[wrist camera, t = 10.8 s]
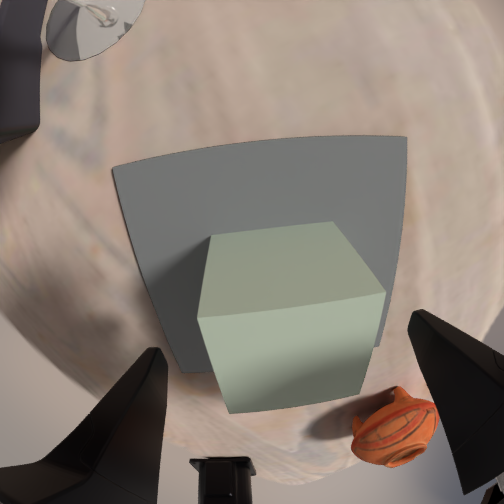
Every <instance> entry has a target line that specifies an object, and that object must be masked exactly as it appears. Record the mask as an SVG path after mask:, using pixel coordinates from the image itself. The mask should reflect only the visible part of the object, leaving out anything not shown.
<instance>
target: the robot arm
mask: <svg viewBox="0 0 504 504" xmlns="http://www.w3.org/2000/svg"><path fill="white" fill-rule="evenodd" d="M408 335H409V338H410V341H411V343H412V346H413V349H414V352H415V355H416V358H417V362H418V364H419V367H420V369H421V372H422V374H423V377H424V379H425V381H426V384H427V386H428V388H429V391H430V393H431V396H432V398H433V401H434V403H435V406H436V408H437V411H438V414H439V416H440V419H441V422H442V424H443V427H444V430H445V433H446V436H447V439H448V442H449V445H450V448H451V451H452V455H453V458H454V462H455V465H456V468H457V472H458V475H459V479H460V483H461V487H462V491H463V494H464V495H466V494H468V493H470V492H472V491H474V490H475V489H477V488H479V487H481V486H482V485H484V484H486V483H488V482H489V481H491V480H492V479H494V478H496V480H497V482H496V483H495V484H494V485H492V486H491V487H490V488H488V489H487V490H486V492H485V495H484V497H483V500H482V502H481V504H504V355H502V354H500V353H499V352H497V351H495V350H493V349H492V348H490V347H489V346H487V345H485V344H483V343H482V342H480V341H478V340H477V339H475V338H473V337H471V336H470V335H468V334H466V333H465V332H463V331H461V330H459V329H458V328H456V327H454V326H452V325H451V324H449V323H447V322H445V321H444V320H442V319H440V318H438V317H436V316H435V315H433V314H431V313H429V312H427V311H426V310H424V309H420V310H416V311H413V313H412V315H411V318H410V321H409V325H408ZM167 383H168V364H167V361H166V359H165V357H164V355H163V353H162V351H161V349H160V348H159V347H149V348H147V349H146V350H145V351H144V353H143V354H142V355H141V356H140V357H139V358H138V359H137V360H136V361H135V363H134V364H133V365H132V366H131V367H130V368H129V369H128V370H127V371H126V373H125V374H124V375H123V376H122V377H121V378H120V379H119V380H118V381H117V383H116V384H115V385H114V386H113V387H112V388H111V389H110V390H109V392H108V393H107V394H106V395H105V396H104V397H103V398H102V399H101V401H100V402H99V403H98V404H97V405H96V406H95V407H94V408H93V410H92V411H91V412H90V414H88V415H87V416H86V417H85V419H84V420H83V421H82V422H81V423H80V424H79V425H78V426H77V427H76V428H75V429H74V430H73V431H72V432H71V433H70V434H69V435H68V436H67V437H66V438H65V439H64V440H63V441H62V442H61V443H60V444H59V445H57V446H56V447H55V448H54V449H53V450H52V451H51V452H50V453H49V454H48V455H46V456H45V457H44V458H42V459H41V460H39V461H37V462H34V463H30V464H24V465H18V466H10V467H2V468H0V504H157V495H158V482H159V470H160V459H161V450H162V441H163V433H164V425H165V417H166V409H167ZM189 463H190V464H191V465H192V466H193V467H194V468H195V469H196V470H197V471H198V472H199V486H198V504H252V491H251V476H254V475H256V470H255V468H254V466H253V463H252V461H251V459H250V458H230V459H190V461H189Z"/></svg>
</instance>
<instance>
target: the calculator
mask: <svg viewBox="0 0 504 504" xmlns="http://www.w3.org/2000/svg"><path fill="white" fill-rule="evenodd" d="M47 1H48V0H0V144H1V143H4V142H7V141H9V140H12V139H15V138H17V137H20V136H23V135H26V134H29V133H32V132H34V131H36V130H37V129H38V127H39V124H40V68H41V54H42V43H41V38H40V34H41V28H42V23H43V18H44V13H45V9H46V5H47Z"/></svg>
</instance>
